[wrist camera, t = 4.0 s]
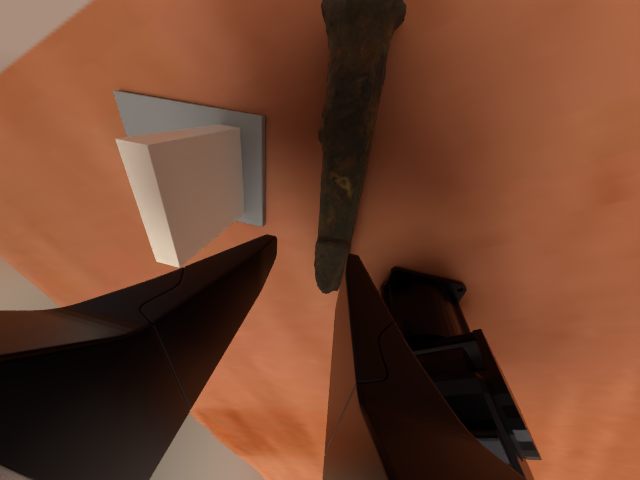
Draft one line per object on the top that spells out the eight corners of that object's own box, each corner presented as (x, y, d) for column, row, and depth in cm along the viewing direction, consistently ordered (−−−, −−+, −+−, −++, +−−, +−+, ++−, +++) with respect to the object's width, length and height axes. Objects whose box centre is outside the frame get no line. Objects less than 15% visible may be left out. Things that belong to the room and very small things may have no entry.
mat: (265, 115, 16) (261, 116, 16) (265, 224, 21) (262, 227, 21) (120, 90, 18) (112, 90, 17) (151, 198, 22) (146, 200, 22)
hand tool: (333, 8, 13) (313, -31, 9) (404, 15, 12) (415, -24, 9) (306, 265, 23) (292, 297, 19) (344, 274, 23) (337, 309, 19)
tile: (240, 127, 17) (147, 144, 10) (244, 213, 20) (180, 267, 14) (217, 123, 17) (112, 138, 10) (226, 209, 20) (154, 260, 14)
